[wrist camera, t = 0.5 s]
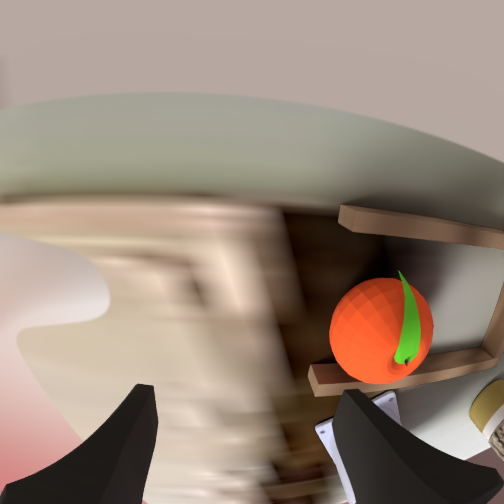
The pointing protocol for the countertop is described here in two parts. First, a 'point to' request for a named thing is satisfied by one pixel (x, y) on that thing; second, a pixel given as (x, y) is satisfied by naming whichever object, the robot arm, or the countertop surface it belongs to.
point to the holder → (433, 366)
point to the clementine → (381, 330)
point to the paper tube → (491, 415)
